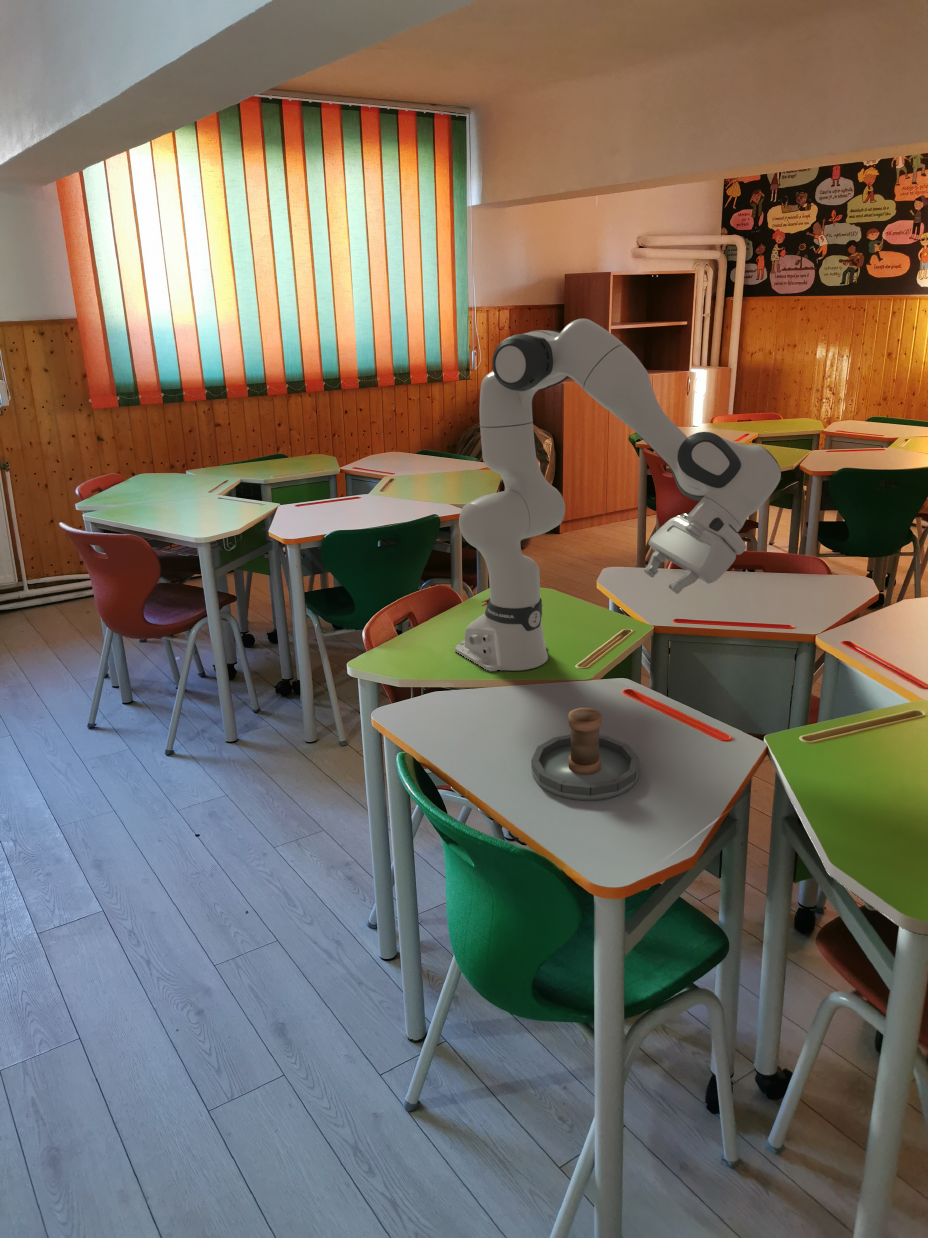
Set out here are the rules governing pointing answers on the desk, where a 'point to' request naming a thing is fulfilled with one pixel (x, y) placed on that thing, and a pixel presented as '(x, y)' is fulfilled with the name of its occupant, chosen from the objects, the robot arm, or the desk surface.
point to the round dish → (605, 784)
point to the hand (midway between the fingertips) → (659, 582)
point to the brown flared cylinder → (584, 741)
